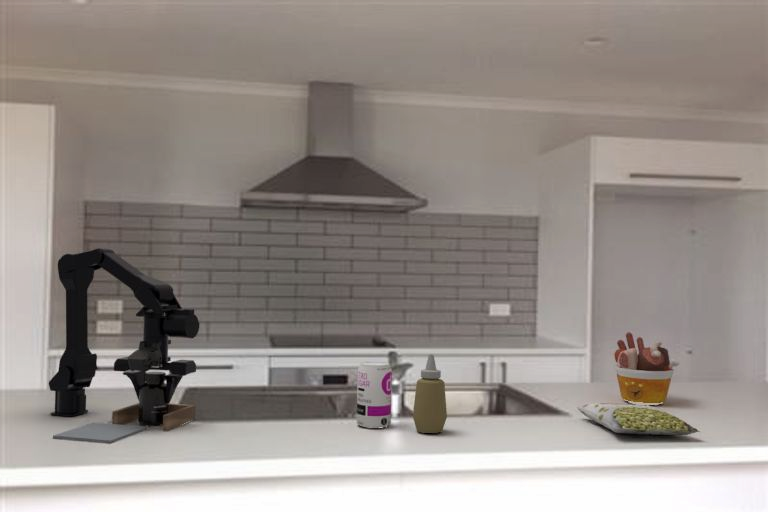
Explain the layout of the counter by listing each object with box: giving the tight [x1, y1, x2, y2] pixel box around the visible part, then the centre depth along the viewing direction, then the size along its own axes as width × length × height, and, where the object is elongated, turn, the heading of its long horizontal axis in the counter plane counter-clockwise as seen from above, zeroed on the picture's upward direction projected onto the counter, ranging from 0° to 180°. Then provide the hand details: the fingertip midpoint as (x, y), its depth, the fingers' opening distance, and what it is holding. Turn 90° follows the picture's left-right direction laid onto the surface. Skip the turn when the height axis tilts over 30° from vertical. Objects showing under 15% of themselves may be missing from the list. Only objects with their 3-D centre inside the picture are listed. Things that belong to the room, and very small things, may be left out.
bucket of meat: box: [613, 332, 680, 403], centre depth 218 cm, size 20×16×20 cm
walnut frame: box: [111, 402, 196, 432], centre depth 175 cm, size 14×13×4 cm
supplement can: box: [356, 361, 393, 428], centre depth 177 cm, size 8×8×15 cm
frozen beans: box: [576, 402, 701, 436], centre depth 179 cm, size 21×6×25 cm
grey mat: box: [52, 421, 148, 444], centre depth 163 cm, size 14×14×1 cm
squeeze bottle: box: [412, 354, 448, 434], centre depth 172 cm, size 8×8×18 cm
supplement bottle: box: [137, 371, 169, 427], centre depth 174 cm, size 7×7×12 cm
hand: (154, 402), depth 174 cm, fingers closed on supplement bottle, 7 cm apart
